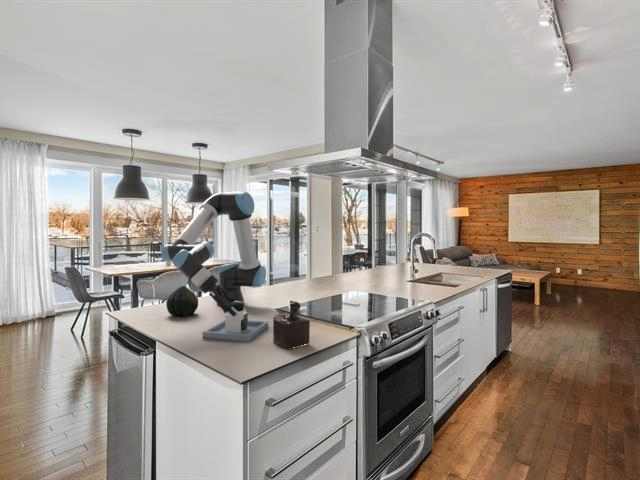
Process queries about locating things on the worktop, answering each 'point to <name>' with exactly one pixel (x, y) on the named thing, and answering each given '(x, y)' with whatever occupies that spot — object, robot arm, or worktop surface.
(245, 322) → the medicine bottle
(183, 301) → the squash
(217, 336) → the tray
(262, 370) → the worktop surface
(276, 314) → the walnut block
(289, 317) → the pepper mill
